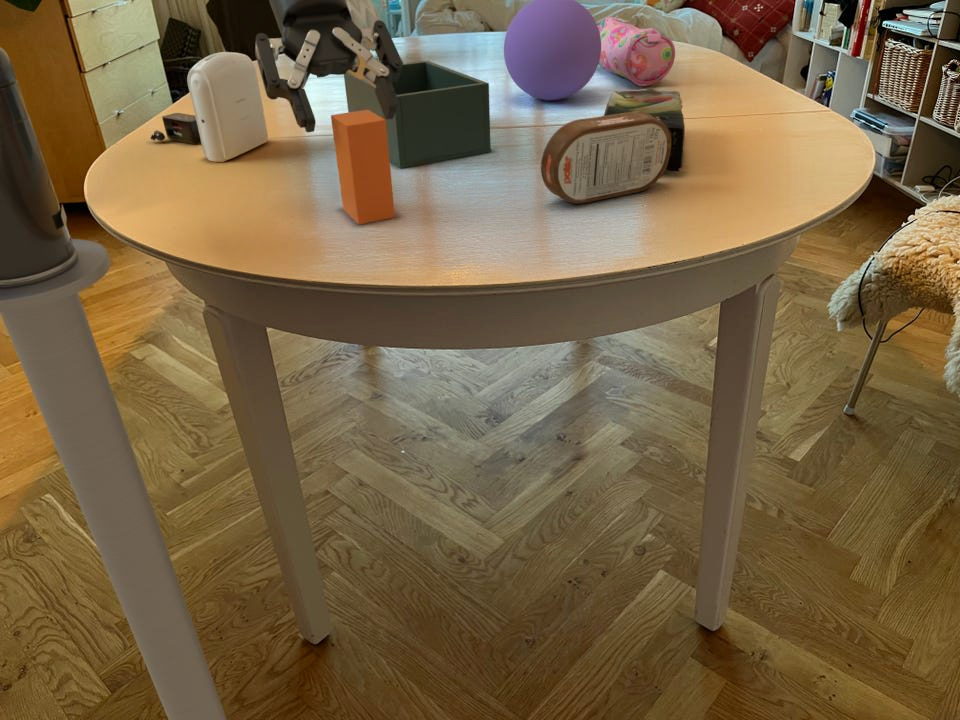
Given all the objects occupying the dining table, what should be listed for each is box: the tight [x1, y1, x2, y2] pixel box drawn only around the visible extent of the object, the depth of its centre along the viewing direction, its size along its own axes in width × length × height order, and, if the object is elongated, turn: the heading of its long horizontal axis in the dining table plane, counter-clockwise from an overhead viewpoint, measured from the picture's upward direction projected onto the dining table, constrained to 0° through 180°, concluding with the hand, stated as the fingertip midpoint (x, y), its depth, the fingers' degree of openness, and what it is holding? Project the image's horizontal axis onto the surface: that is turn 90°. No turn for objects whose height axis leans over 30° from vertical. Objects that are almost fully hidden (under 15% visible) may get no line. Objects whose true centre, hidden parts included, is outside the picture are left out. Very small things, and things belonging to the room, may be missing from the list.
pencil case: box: [597, 14, 676, 87], centre depth 132 cm, size 21×9×9 cm, turn 11°
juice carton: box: [603, 88, 686, 172], centre depth 94 cm, size 20×10×6 cm, turn 169°
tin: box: [540, 111, 672, 205], centre depth 80 cm, size 15×3×8 cm, turn 115°
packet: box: [330, 110, 396, 225], centre depth 77 cm, size 4×5×10 cm
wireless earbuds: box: [150, 112, 202, 145], centre depth 106 cm, size 5×7×3 cm, turn 56°
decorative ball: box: [503, 0, 601, 101], centre depth 117 cm, size 15×15×15 cm
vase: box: [346, 0, 381, 64], centre depth 148 cm, size 16×16×18 cm
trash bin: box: [343, 60, 492, 169], centre depth 100 cm, size 13×19×8 cm
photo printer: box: [186, 51, 269, 163], centre depth 99 cm, size 10×4×12 cm, turn 158°
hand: (351, 121), depth 77 cm, fingers open, 8 cm apart
